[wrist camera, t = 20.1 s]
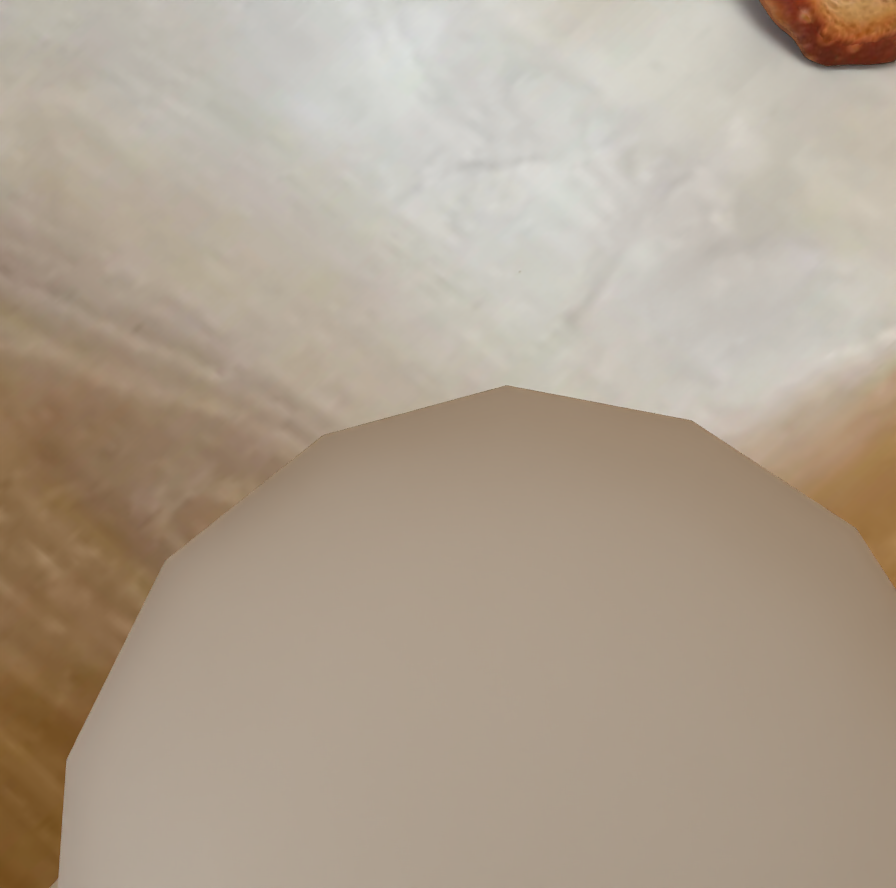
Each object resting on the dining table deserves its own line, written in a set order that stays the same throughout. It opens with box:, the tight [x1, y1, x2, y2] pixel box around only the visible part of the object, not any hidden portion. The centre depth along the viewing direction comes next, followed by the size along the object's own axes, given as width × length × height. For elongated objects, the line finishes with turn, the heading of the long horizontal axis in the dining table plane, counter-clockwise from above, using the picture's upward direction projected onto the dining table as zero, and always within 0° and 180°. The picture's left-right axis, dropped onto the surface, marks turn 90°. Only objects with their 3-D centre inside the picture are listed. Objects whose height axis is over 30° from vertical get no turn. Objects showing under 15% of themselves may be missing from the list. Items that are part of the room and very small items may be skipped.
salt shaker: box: [58, 385, 896, 888], centre depth 9 cm, size 6×6×13 cm
